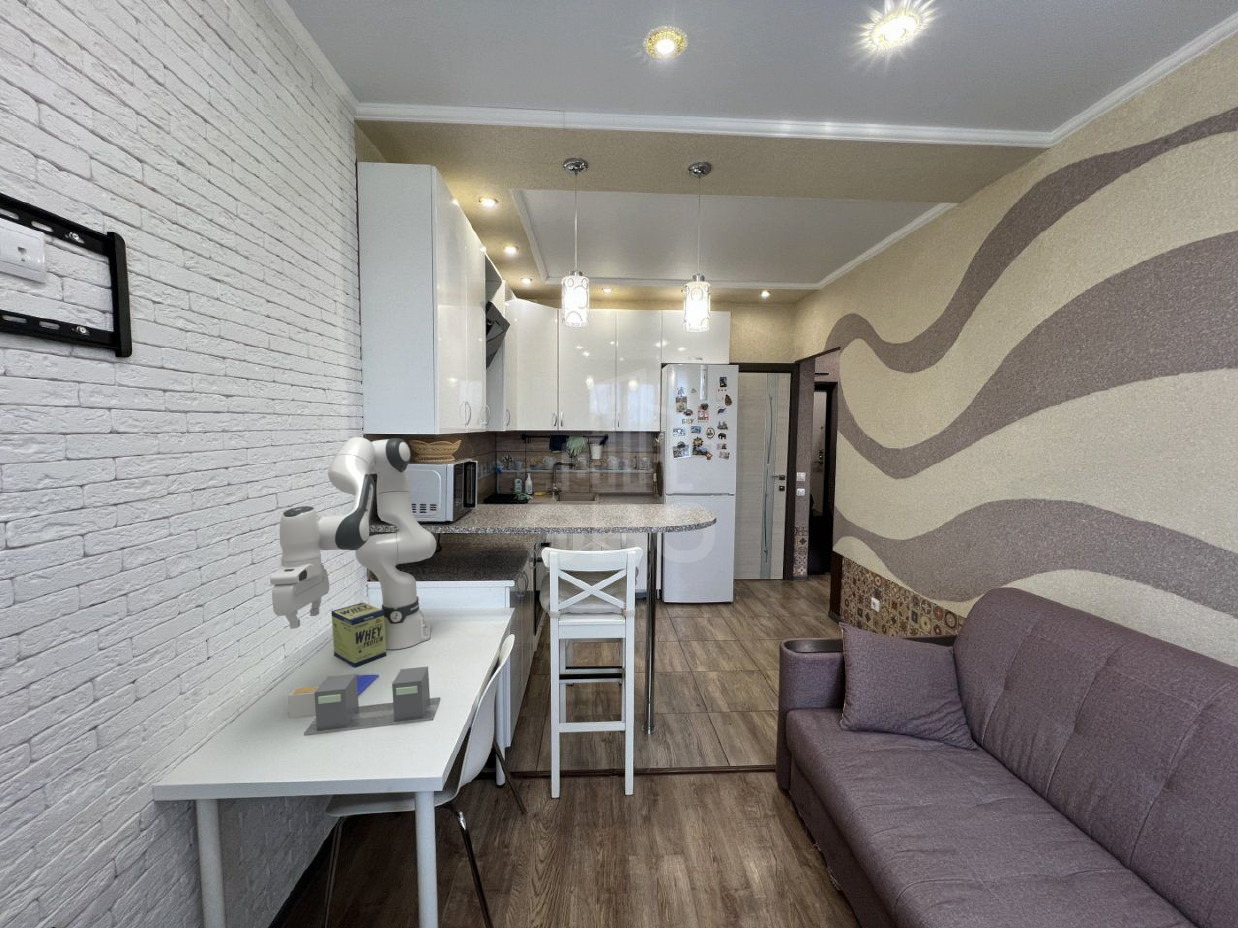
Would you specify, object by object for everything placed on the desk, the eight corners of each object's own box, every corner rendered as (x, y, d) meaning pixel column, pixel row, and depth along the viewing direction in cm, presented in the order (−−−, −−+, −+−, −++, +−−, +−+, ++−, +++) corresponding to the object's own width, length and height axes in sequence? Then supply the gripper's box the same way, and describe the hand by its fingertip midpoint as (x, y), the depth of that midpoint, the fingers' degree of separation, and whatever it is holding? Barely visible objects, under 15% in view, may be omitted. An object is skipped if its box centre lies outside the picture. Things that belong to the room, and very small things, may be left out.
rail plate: (321, 712, 129) (321, 710, 129) (440, 699, 134) (440, 697, 134) (303, 735, 120) (303, 732, 120) (432, 719, 124) (432, 717, 124)
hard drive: (352, 674, 148) (327, 696, 136) (379, 674, 148) (356, 695, 136) (352, 679, 148) (327, 702, 136) (379, 679, 148) (356, 701, 136)
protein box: (355, 668, 155) (352, 619, 154) (333, 656, 164) (330, 610, 163) (387, 655, 163) (384, 609, 162) (364, 644, 172) (362, 601, 171)
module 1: (330, 713, 129) (327, 676, 128) (358, 710, 130) (356, 673, 129) (316, 732, 120) (313, 693, 120) (346, 729, 122) (344, 689, 121)
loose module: (295, 710, 131) (294, 688, 131) (324, 707, 132) (322, 685, 132) (289, 718, 127) (287, 695, 127) (318, 714, 129) (316, 691, 128)
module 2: (402, 705, 132) (400, 669, 131) (430, 702, 133) (428, 666, 132) (393, 723, 123) (391, 684, 123) (422, 719, 125) (420, 681, 124)
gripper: (310, 561, 139) (313, 609, 139) (265, 579, 119) (269, 636, 119) (334, 559, 139) (337, 607, 140) (292, 578, 119) (296, 634, 119)
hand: (305, 621), depth 129 cm, fingers open, 8 cm apart
